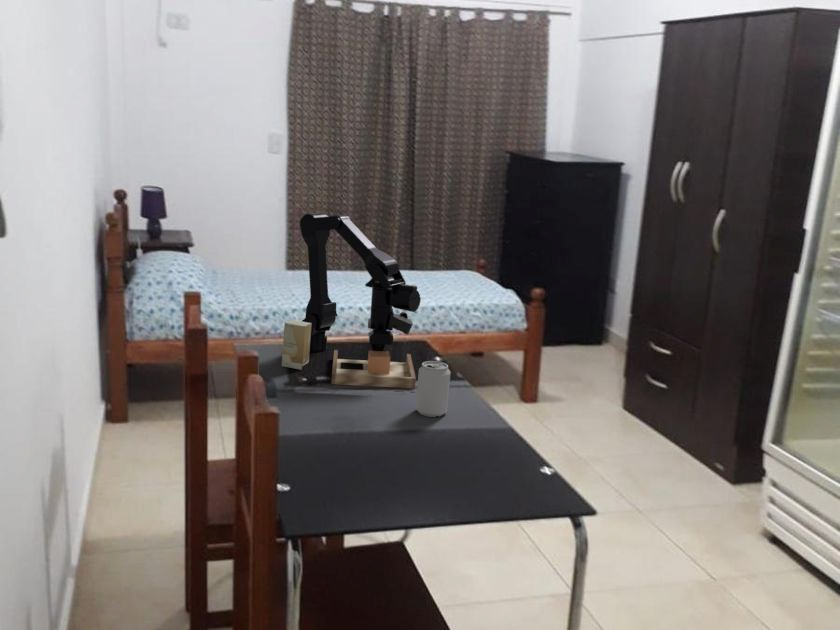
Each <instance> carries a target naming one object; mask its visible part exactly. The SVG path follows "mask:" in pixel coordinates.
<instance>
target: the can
mask: <svg viewBox="0 0 840 630" xmlns="http://www.w3.org/2000/svg"><path fill="white" fill-rule="evenodd" d="M417 376H418V378H417V388H416V389H417V390H416V401H415V409H416V411H417V412H418V413H419V414H420V415H421V416H425V417H429V418H430V417H431V418H437V417H436V416H438V417H441V416H444V414H446V413H447V411H448V407H449V406H448V405H449V404H448V402H449V393H450V382H451V370H450V369H449V365H448V364H447V363H445V362H443V361H438V360H428V361H423V362H422V363H421V366H420V368H418V375H417Z"/></svg>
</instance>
